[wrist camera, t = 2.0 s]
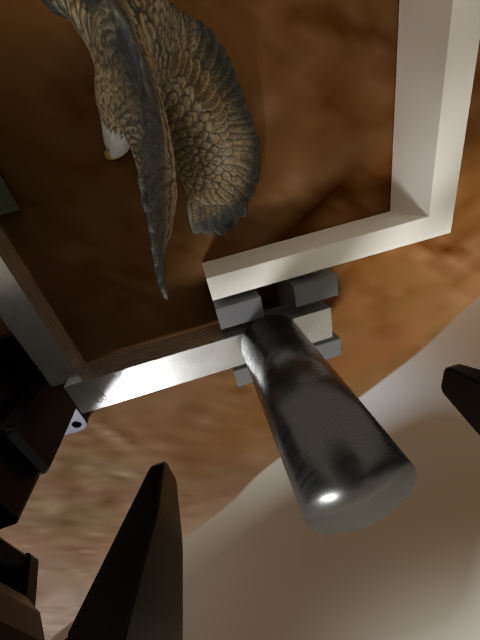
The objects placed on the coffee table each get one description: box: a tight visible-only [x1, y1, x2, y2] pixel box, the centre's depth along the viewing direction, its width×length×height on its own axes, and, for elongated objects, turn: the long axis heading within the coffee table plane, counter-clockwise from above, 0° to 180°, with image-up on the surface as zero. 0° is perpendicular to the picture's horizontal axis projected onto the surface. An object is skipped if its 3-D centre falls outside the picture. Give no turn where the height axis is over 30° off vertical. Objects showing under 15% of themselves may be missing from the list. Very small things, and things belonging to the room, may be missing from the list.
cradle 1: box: [213, 289, 264, 387], centre depth 14 cm, size 2×5×3 cm, turn 13°
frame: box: [202, 0, 480, 300], centre depth 10 cm, size 11×15×2 cm
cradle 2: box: [276, 268, 341, 359], centre depth 14 cm, size 2×5×3 cm, turn 13°
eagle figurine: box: [41, 0, 260, 300], centre depth 8 cm, size 8×7×9 cm
